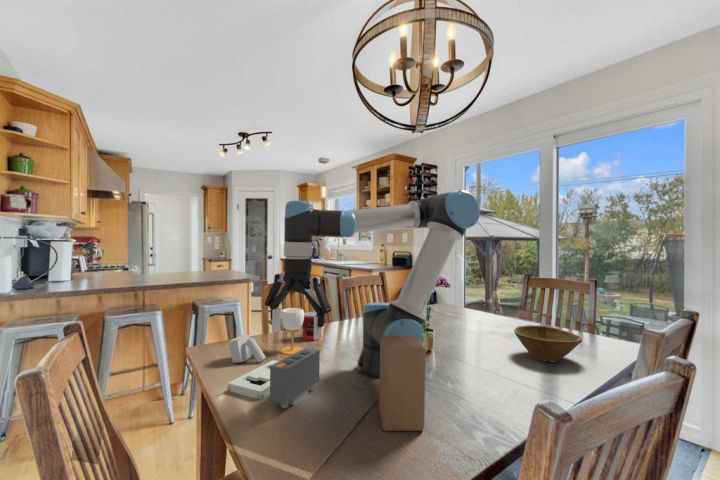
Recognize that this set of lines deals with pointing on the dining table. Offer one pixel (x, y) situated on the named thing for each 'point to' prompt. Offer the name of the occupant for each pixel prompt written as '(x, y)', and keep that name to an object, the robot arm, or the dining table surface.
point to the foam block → (299, 397)
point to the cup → (292, 326)
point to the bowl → (547, 341)
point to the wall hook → (244, 349)
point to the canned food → (308, 326)
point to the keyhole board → (252, 390)
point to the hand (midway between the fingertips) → (296, 335)
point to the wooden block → (402, 383)
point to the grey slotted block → (294, 376)
